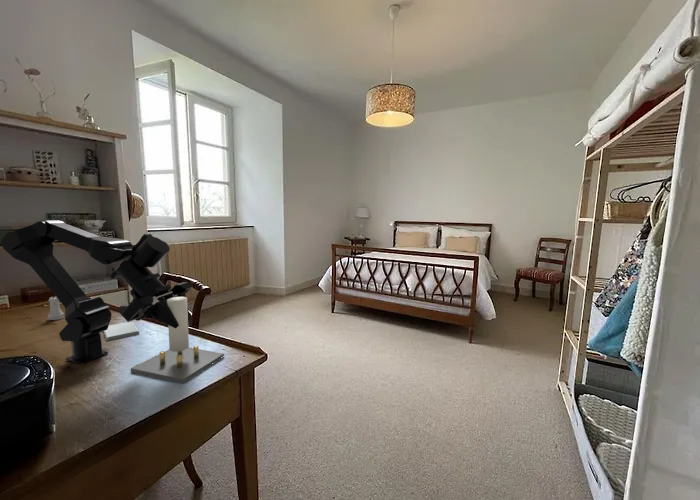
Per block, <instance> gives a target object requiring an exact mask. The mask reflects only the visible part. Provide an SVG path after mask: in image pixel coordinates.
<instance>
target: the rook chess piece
mask: <svg viewBox="0 0 700 500" xmlns="http://www.w3.org/2000/svg"><path fill="white" fill-rule="evenodd" d="M47 301H48V302H49V304H48V305H49V307H50V308H49V312H48V315H47V320H48V321H50V320H54V321H59V320H62V319H65V312H63V311H62V309H61V306H60V304H61V302H60V301H59V299H58V298H57V297H56V296H55V295H54V296H51V297H48V300H47Z"/></svg>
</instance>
